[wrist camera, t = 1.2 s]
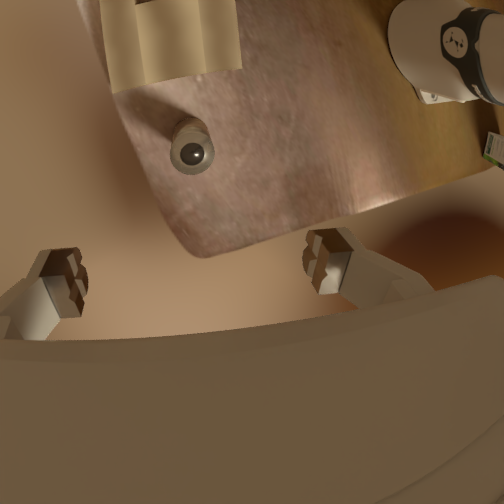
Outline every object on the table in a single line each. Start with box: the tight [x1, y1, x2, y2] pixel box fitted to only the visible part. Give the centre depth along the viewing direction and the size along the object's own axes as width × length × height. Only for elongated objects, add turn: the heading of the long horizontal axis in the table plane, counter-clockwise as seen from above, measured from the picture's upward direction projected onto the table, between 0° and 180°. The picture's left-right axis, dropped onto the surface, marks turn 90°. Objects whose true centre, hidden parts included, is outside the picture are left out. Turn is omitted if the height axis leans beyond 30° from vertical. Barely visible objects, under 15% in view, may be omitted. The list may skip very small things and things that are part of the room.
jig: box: [99, 0, 242, 94], centre depth 20 cm, size 13×18×4 cm
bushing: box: [170, 117, 215, 175], centre depth 28 cm, size 4×4×8 cm
